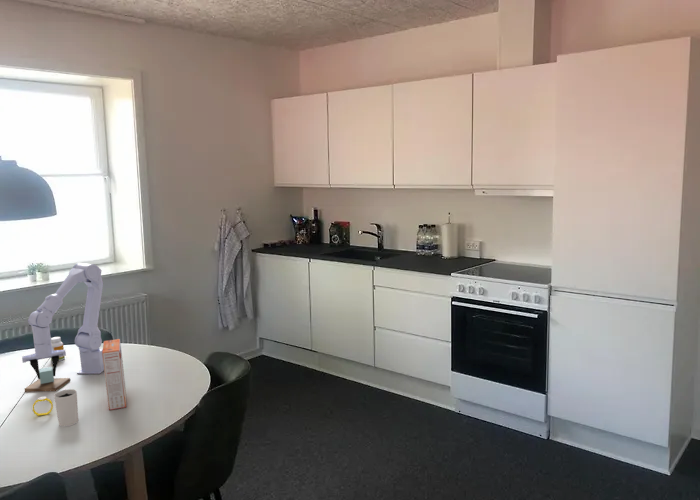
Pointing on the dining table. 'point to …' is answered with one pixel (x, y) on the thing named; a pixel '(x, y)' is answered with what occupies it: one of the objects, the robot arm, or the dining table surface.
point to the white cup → (66, 407)
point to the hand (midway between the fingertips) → (46, 376)
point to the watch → (40, 401)
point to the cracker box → (114, 374)
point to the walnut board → (47, 385)
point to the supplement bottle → (57, 346)
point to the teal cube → (46, 375)
